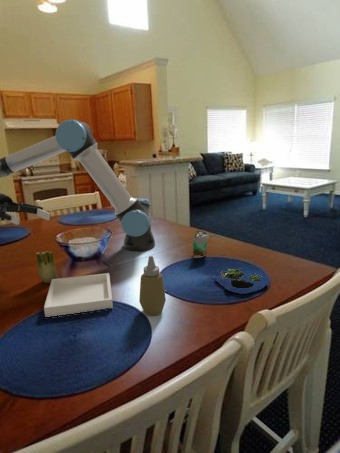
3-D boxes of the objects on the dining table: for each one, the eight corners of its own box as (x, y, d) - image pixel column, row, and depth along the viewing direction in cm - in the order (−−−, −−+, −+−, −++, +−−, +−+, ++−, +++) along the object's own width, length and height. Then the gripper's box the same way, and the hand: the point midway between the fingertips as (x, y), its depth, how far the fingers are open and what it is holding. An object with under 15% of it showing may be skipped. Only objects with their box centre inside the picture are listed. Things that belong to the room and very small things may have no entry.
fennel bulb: (38, 283, 120) (34, 252, 116) (47, 277, 124) (43, 248, 121) (50, 285, 118) (46, 254, 114) (60, 280, 122) (56, 250, 119)
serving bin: (109, 281, 120) (109, 273, 119) (112, 309, 101) (112, 299, 100) (53, 288, 116) (51, 279, 115) (45, 318, 97) (43, 307, 96)
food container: (207, 261, 137) (207, 238, 134) (192, 260, 138) (193, 238, 135) (209, 250, 149) (210, 230, 146) (196, 250, 150) (196, 229, 147)
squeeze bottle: (139, 304, 103) (137, 252, 98) (165, 303, 104) (163, 251, 99) (139, 319, 96) (136, 262, 91) (167, 317, 96) (165, 261, 91)
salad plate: (201, 277, 123) (201, 266, 122) (239, 268, 130) (240, 257, 129) (232, 299, 106) (233, 287, 105) (274, 287, 114) (275, 275, 112)
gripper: (25, 208, 142) (59, 224, 132) (-34, 214, 120) (2, 233, 111) (26, 192, 139) (61, 206, 130) (-33, 195, 118) (4, 212, 109)
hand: (34, 218), depth 121 cm, fingers open, 13 cm apart
